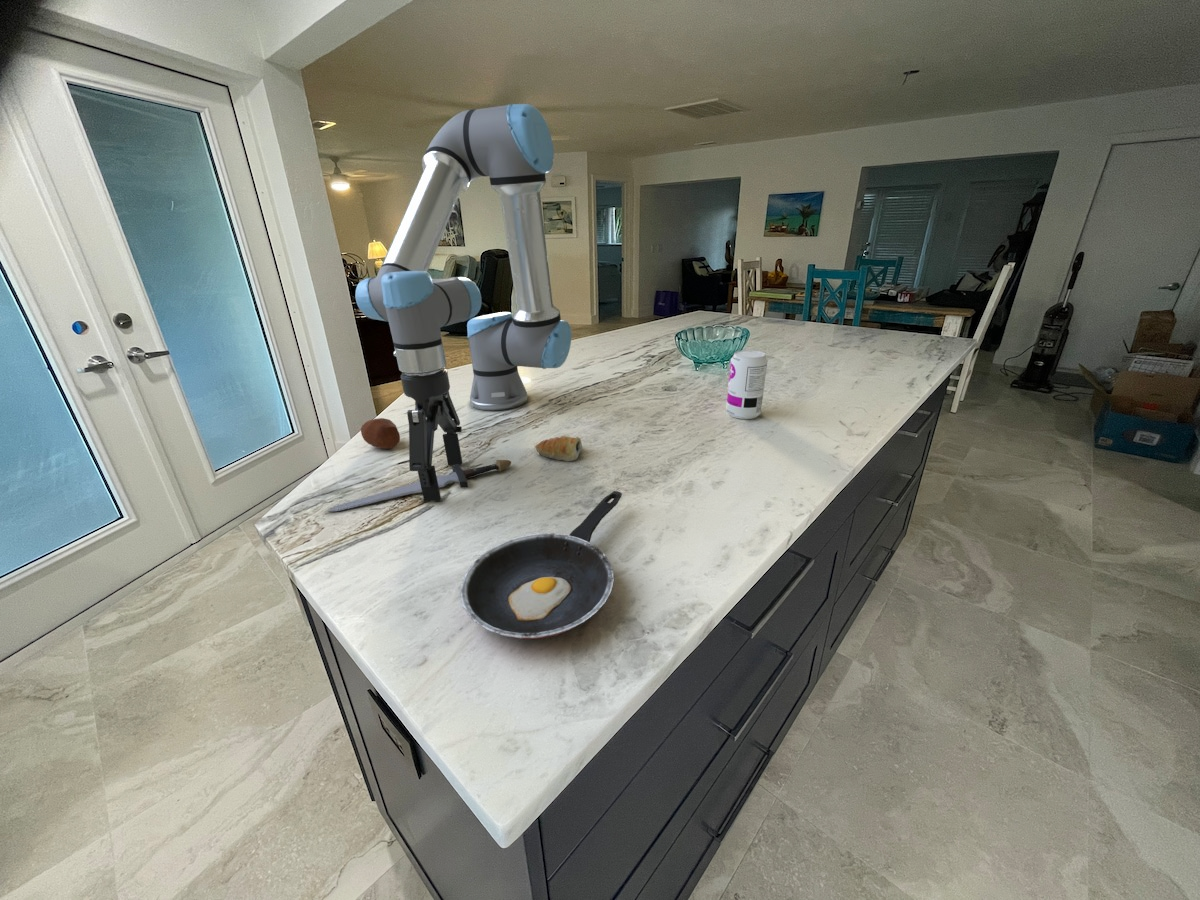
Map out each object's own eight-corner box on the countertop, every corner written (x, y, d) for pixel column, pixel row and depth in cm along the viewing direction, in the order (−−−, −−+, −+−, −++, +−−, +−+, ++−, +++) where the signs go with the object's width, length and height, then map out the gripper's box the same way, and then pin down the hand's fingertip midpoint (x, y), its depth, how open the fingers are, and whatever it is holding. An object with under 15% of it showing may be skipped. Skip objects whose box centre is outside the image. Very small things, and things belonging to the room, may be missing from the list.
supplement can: (723, 417, 113) (729, 356, 107) (728, 406, 120) (734, 348, 113) (758, 421, 110) (766, 359, 104) (761, 410, 117) (769, 350, 111)
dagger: (517, 472, 90) (516, 462, 89) (334, 530, 74) (330, 519, 73) (501, 458, 96) (499, 449, 95) (327, 510, 79) (324, 499, 79)
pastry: (532, 459, 95) (530, 442, 94) (542, 445, 101) (541, 429, 100) (576, 462, 93) (575, 445, 92) (584, 448, 99) (583, 432, 98)
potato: (376, 457, 98) (369, 428, 95) (359, 445, 104) (351, 418, 101) (408, 446, 102) (402, 419, 100) (389, 435, 108) (383, 409, 106)
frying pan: (430, 621, 56) (424, 597, 55) (570, 497, 81) (568, 478, 80) (563, 684, 48) (560, 658, 46) (672, 524, 73) (673, 504, 72)
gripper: (426, 352, 89) (445, 452, 99) (366, 394, 67) (398, 518, 76) (465, 351, 89) (480, 451, 98) (418, 393, 67) (443, 517, 76)
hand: (444, 481), depth 87 cm, fingers open, 13 cm apart
